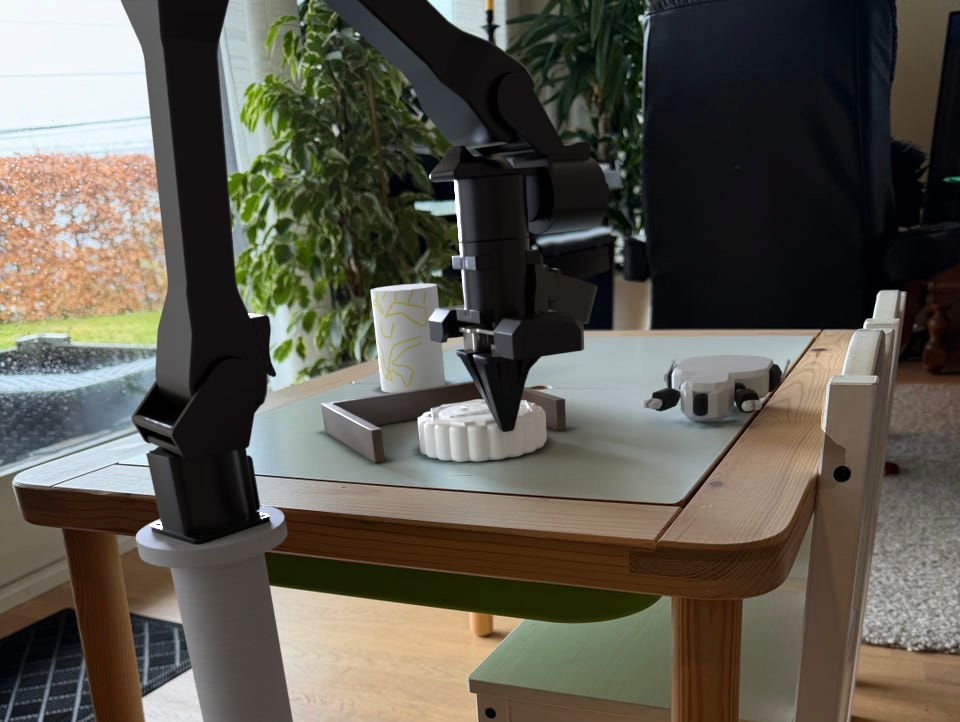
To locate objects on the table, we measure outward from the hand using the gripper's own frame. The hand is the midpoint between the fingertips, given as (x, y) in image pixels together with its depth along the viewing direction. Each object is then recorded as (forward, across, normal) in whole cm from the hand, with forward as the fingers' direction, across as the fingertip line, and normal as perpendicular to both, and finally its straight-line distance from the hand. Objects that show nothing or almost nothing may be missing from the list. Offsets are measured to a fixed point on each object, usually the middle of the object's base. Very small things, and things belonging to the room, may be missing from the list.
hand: (507, 431), depth 86 cm
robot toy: (+3, +4, -25) cm, 26 cm away
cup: (+2, +42, -6) cm, 42 cm away
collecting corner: (+2, +15, 0) cm, 15 cm away
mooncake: (+3, +6, 0) cm, 7 cm away
